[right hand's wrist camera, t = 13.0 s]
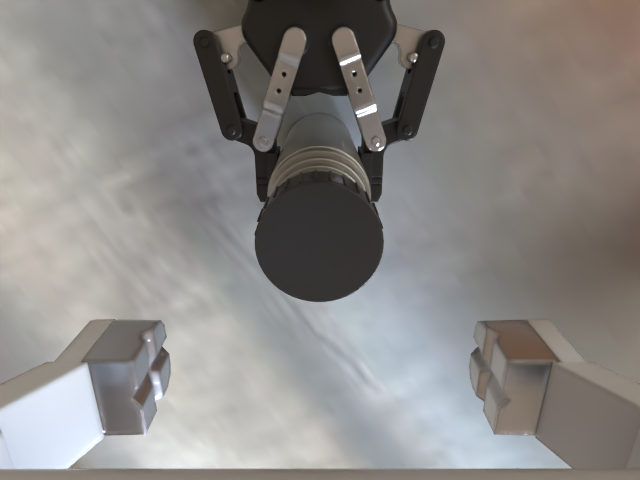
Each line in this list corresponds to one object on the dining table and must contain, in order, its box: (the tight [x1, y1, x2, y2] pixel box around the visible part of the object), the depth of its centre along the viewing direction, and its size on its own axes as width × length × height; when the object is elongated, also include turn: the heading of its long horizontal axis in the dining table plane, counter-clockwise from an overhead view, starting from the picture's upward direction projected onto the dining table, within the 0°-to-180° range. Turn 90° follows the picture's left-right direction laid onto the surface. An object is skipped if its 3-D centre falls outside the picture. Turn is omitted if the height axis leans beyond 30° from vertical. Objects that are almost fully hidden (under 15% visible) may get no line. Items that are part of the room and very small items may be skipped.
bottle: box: [267, 113, 371, 200], centre depth 25 cm, size 5×5×19 cm
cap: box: [255, 170, 384, 302], centre depth 17 cm, size 5×5×2 cm
